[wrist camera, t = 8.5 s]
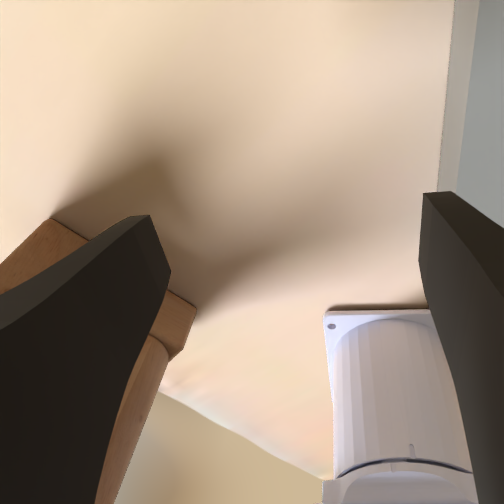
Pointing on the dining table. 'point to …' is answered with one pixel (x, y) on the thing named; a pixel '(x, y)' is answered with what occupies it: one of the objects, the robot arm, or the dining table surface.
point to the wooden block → (149, 360)
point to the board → (475, 108)
